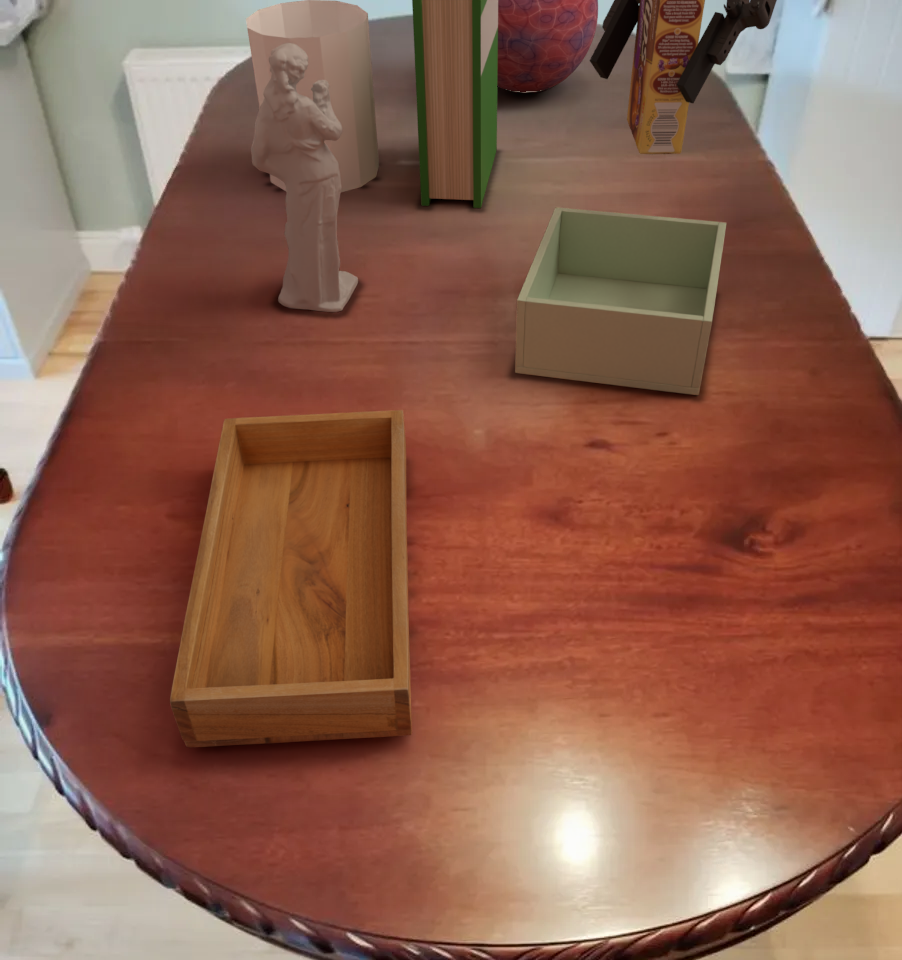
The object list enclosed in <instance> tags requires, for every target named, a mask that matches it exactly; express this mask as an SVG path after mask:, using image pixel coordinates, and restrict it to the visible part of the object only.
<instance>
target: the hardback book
mask: <svg viewBox="0 0 902 960" xmlns="http://www.w3.org/2000/svg"><path fill="white" fill-rule="evenodd" d="M411 5H412V25H413V26H412V29H413V50H414V53H413V54H414V72H415V73H414V74H415V93H416V94H415V95H416V117H417V118H416V119H417V138H418V139H417V140H418V141H417V142H418V159H419V160H418V162H419V163H418V164H419V181H420V182H419V184H420V185H419V186H420V187H419V188H420V204H421V206H422V207H423V206H425V207H429V206H430V203H431V201H432V199H438V200H441V199H442V200H461V201H463V200H464V201H472V203H473V205H472V206H473V209H481V208H482V206H483V202H484V199H485V195H486V191H487V187H488V184H489V180H490V176H491V173H492V168H493V166H494V162H495V158H496V154H497V149H498V87H497V69H498V0H411Z"/></svg>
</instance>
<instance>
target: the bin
mask: <svg viewBox="0 0 902 960" xmlns="http://www.w3.org/2000/svg"><path fill="white" fill-rule="evenodd" d="M726 229H727V222H723V221H713V220H704V219H703V220H702V219H691V218H680V217H669V216H658V215H648V214H638V213H637V214H635V213H624V212H614V211H603V210H602V211H601V210H592V209H581V208H580V209H579V208H571V207H570V208H569V207H557V206H555V207H554V210H553V213H552V215H551V216H550V220H549V222H548V224H547V227H546V229H545V232H544V234H543V236H542V239H541V240H540V244H539V246H538V249H537V251H536V253H535V256H534V258H533V260H532V263H531V265H530V267H529V270H528V272H527V275H526V277H525V279H524V282H523V285H522V288H521V289H520V292H519V294H518V297H517V299H516V317H515V318H516V319H515V321H516V322H515V353H514V355H515V357H514V358H515V359H514V373H515V374H522V375H530V376H537V377H546V378H554V379H561V380H570V381H579V382H587V383H594V384H601V385H602V384H603V385H611V386H618V387H627V388H636V389H644V390H651V391H659V392H668V393H675V394H676V393H677V394H684V395H692V396H699V395H700V390H701V386H702V379H703V373H704V368H705V363H706V358H707V352H708V347H709V341H710V335H711V329H712V325H713V317H714V313H715V304H716V300H717V299H716V297H717V291H718V285H719V278H720V270H721V266H722V265H721V264H722V257H723V250H724V244H725V236H726Z"/></svg>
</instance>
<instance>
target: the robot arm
mask: <svg viewBox="0 0 902 960" xmlns="http://www.w3.org/2000/svg"><path fill="white" fill-rule="evenodd" d="M777 1H778V0H726V4H725V3H724V4H723V9H724V11H725V13H726V15H724V13H721V12H718V11H714V14H713V16H712V17H711V19H710V21H709V23H708V25H707V27H706V28H705V30H704V32H703V34H702V36H701V38H700V39H699V42H698V45H697V47H696V49H695V51H694V53H693V55H692V56H691V58H690V60H689V62H688V64H687V66H686V68H685V69H684V71H683V73H682V75H681V77H680V79H679V81H678V83H677V84H676V85H677V86H678V88H679V90H680V92H681V93H682V95H683V97H684V99H685V100H686V102H689V104H694V103H695V101H696V100H697V97H698V96H699V94H700V92H701V90H702V88H703V87H704V85H705V82H706V81H707V79H708V77H709V76H710V73H712V70H713V68H714V67H715V65H717V66H721V65H723V63H724V62H725V61H726V60H727V58H728V56H729V54H730V52H731V50H732V49H733V47H734V45H735V43H736V42H737V39H738V38H739V36H740V34H741V33H742V32H744V31H745V30H746V29H748V28H752V27H753V28H756V29H757V30H764V29H766V28H767V27H768V26H769V24H770V22H771V19H772V16H773V13H774V10H775V7H776V3H777ZM639 2H640V0H613V2H612V4H611V6H610V8H609V9H608V11H607V13H606V16H605V17H604V19H603V21H602V27H601V28H602V29H603V34H602V36H601V38H600V40H599V41H598V44H597V46H596V47H595V49H594V51H593V53H592V55H591V57H590V59H589V62H590V64H591V66H592V67H593V68H594V70H595V71H596V73H597V74H598V75H599V77H600V78H601V79H605V80H609V77H610V75H611V73H612V71H613V69H614V67H615V66H616V64H617V62H618V61H619V58H620V56H621V54H622V52H623V51H624V49H625V46H626V45H627V43H628V41H629V39H630V37H631V35H632V33H633V31H634V30H635V28H636V27H637V21H638V11H639Z"/></svg>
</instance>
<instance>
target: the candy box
mask: <svg viewBox="0 0 902 960" xmlns="http://www.w3.org/2000/svg"><path fill="white" fill-rule="evenodd" d="M705 4H706V0H640V2H639V4H638V5H639V11H638V21H637V24H636V30H635V40H634V49H633V59H632V67H631V74H630V75H631V77H630V86H629V97H628V105H627V114H626V121H627V124H628V127H629V129H630V132H631V135H632V137H633V140H634V142H635V145H636V148H637V151H638V154H640V155H680V154H681V153H682V150H683V145H684V144H683V143H684V138H685V133H686V132H685V131H686V125H687V118H688V111H689V107H690V106H689V105H690V103H689V102H686V100H685V99H684V97H683V95H682V93H681V92H680V90H679V88H678V86H677V85H676V84H677V83H678V81H679V79H680V77H681V75H682V73H683V71H684V69H685V68H686V66H687V64H688V62H689V60H690V58H691V56H692V55H693V53H694V51H695V49H696V47H697V45H698V43H699V41H700V35H701V30H702V29H701V28H702V23H703V22H702V21H703V17H704V11H705Z"/></svg>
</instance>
